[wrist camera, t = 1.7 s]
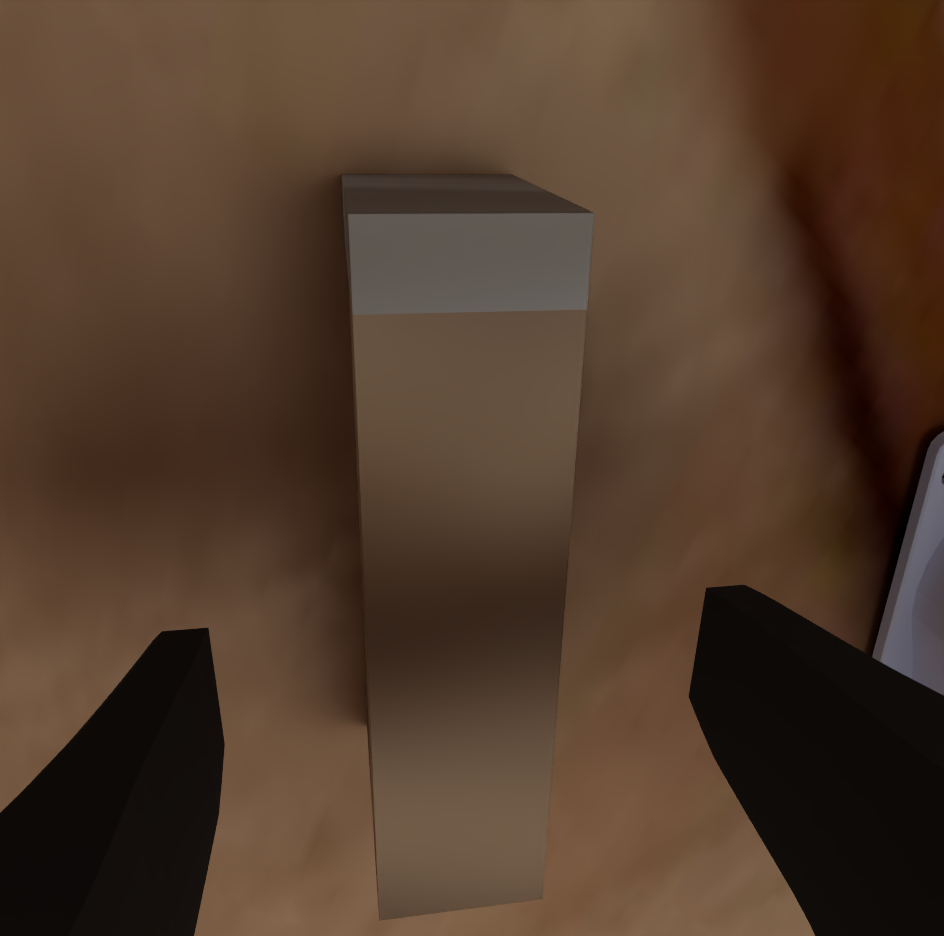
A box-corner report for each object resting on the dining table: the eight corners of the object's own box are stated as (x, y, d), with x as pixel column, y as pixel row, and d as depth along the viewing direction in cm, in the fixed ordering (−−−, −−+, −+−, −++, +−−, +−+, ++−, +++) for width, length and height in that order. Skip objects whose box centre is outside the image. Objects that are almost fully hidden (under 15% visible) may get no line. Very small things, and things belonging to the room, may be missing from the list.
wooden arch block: (493, 714, 20) (542, 898, 15) (367, 726, 19) (379, 920, 15) (512, 175, 15) (593, 212, 10) (341, 174, 14) (347, 214, 10)
